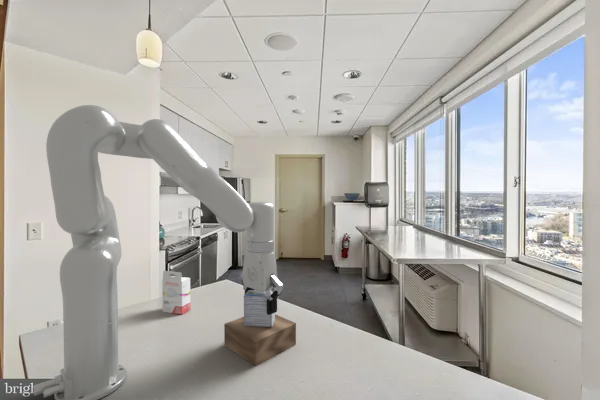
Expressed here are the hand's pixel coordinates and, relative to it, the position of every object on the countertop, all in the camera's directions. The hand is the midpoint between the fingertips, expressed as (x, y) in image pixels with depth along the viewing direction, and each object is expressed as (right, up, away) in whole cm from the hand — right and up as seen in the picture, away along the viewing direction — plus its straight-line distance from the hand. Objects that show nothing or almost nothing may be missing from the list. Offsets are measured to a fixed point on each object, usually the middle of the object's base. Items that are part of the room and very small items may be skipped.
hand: (260, 308), depth 79 cm
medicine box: (0, -5, 0) cm, 5 cm away
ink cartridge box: (-33, -10, +23) cm, 42 cm away
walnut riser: (0, -10, 0) cm, 10 cm away
